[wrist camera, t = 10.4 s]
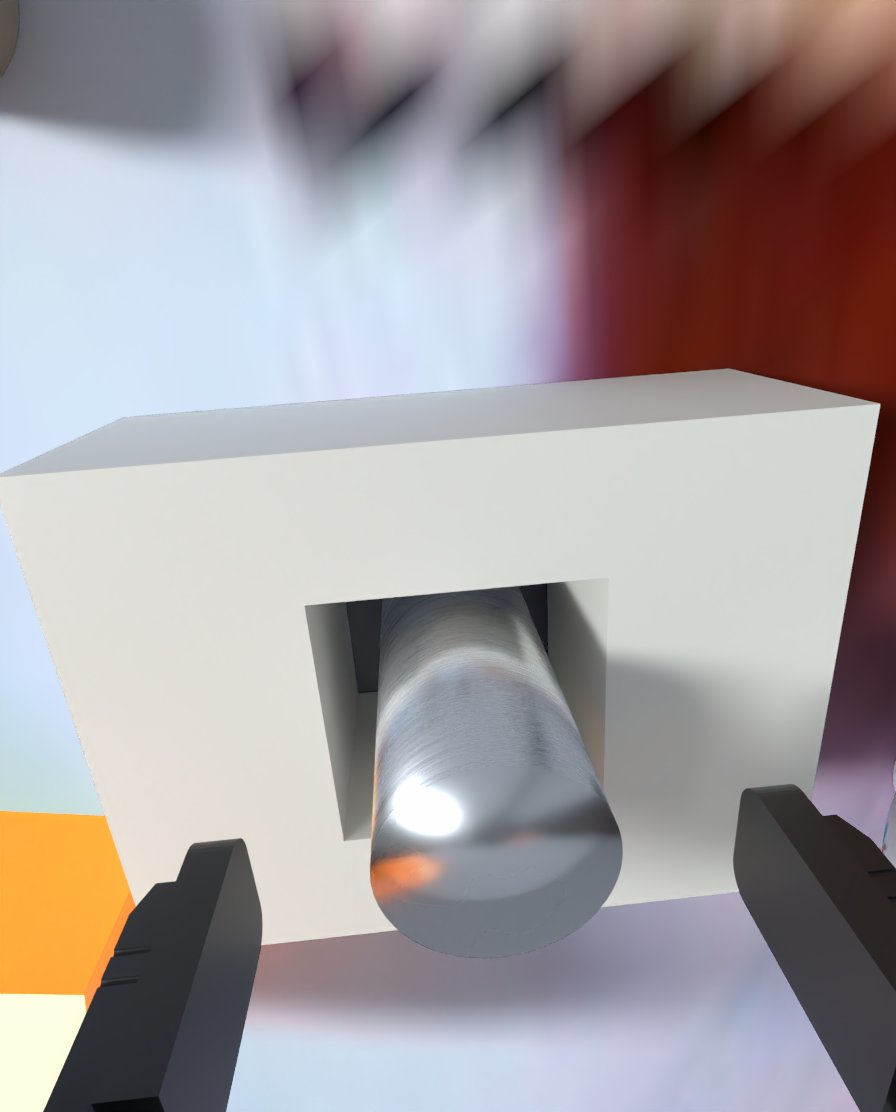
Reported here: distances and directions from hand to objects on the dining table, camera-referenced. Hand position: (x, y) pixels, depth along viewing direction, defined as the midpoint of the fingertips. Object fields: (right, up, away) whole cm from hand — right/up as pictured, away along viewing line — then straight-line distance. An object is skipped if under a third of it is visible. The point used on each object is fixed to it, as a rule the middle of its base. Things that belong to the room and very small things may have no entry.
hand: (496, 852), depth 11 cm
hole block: (-1, +3, +9) cm, 10 cm away
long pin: (-1, +4, +9) cm, 10 cm away
